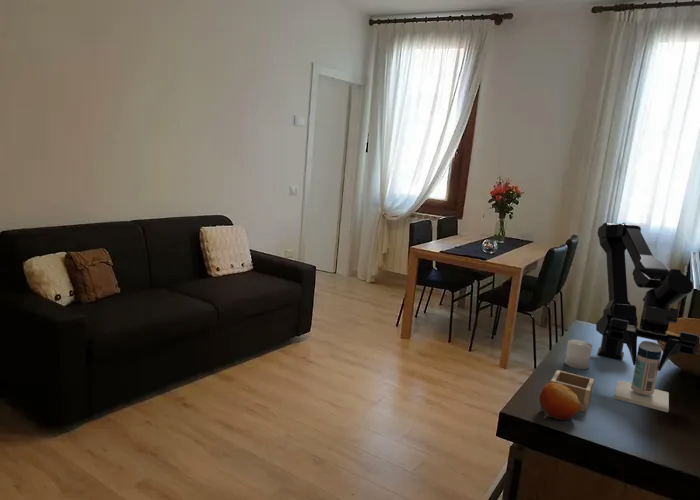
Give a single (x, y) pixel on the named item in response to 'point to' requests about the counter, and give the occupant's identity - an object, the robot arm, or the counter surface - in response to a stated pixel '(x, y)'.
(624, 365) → the counter surface
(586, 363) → the white rounded cylinder
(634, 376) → the beer can
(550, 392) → the fruit
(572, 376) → the oak box
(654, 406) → the plate
